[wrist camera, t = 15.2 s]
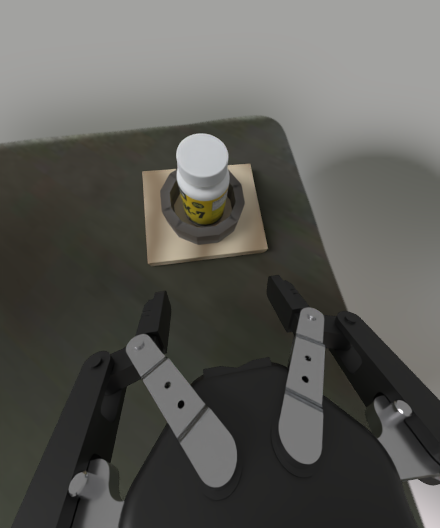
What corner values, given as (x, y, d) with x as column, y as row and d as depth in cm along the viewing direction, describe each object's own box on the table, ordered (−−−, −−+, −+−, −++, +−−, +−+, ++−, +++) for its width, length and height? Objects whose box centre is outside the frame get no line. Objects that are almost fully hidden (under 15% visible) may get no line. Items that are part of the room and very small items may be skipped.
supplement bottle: (176, 210, 21) (156, 152, 13) (203, 186, 22) (200, 117, 14) (205, 236, 21) (203, 193, 12) (231, 210, 22) (246, 154, 13)
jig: (152, 266, 21) (139, 257, 17) (146, 179, 23) (134, 155, 20) (264, 252, 22) (275, 241, 18) (247, 171, 25) (255, 147, 21)
